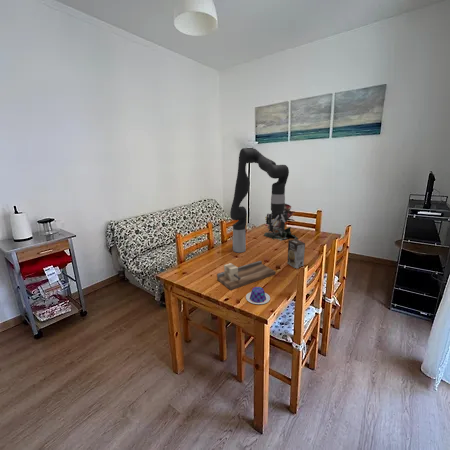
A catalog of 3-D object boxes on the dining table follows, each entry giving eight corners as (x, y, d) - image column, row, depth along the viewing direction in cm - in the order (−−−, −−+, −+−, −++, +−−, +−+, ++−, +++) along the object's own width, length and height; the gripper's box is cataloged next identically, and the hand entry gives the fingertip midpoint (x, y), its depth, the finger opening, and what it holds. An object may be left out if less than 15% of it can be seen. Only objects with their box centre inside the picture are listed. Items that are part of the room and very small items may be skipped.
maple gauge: (224, 276, 143) (224, 265, 141) (231, 274, 145) (230, 263, 143) (236, 284, 133) (236, 272, 131) (243, 282, 135) (243, 270, 133)
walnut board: (217, 279, 143) (217, 273, 142) (260, 265, 159) (260, 260, 158) (230, 290, 131) (230, 283, 130) (275, 274, 148) (275, 268, 147)
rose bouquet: (281, 229, 235) (283, 198, 227) (301, 238, 208) (303, 203, 200) (257, 233, 226) (258, 200, 218) (275, 243, 200) (276, 206, 192)
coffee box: (286, 263, 162) (287, 240, 158) (295, 261, 164) (296, 238, 160) (295, 268, 154) (296, 244, 149) (303, 267, 156) (305, 242, 152)
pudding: (257, 308, 116) (257, 298, 114) (240, 297, 125) (240, 288, 124) (275, 299, 122) (275, 290, 121) (258, 289, 132) (258, 280, 130)
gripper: (282, 199, 143) (281, 226, 148) (263, 202, 136) (263, 230, 140) (292, 201, 137) (290, 229, 142) (273, 204, 130) (272, 234, 134)
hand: (276, 230), depth 141 cm, fingers open, 8 cm apart
